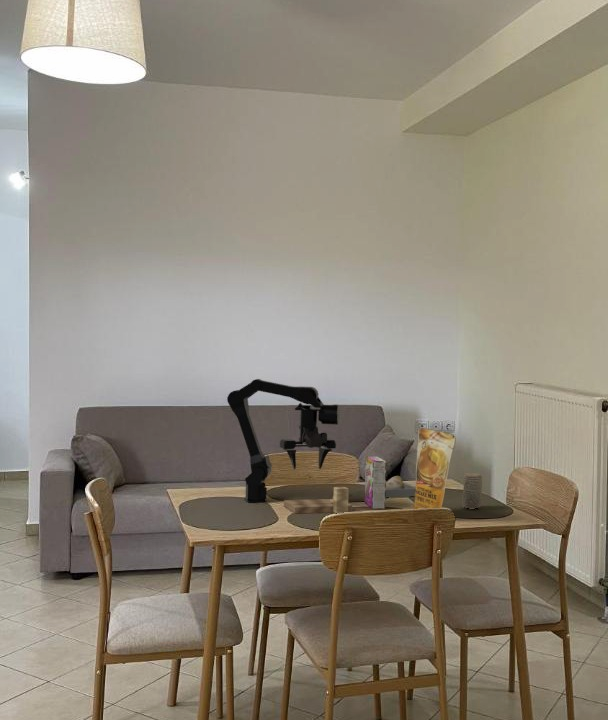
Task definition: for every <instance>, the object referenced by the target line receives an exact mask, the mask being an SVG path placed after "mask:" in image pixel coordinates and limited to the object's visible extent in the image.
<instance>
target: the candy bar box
mask: <svg viewBox="0 0 608 720" xmlns="http://www.w3.org/2000/svg"><path fill="white" fill-rule="evenodd" d="M364 463H365V465H364V466H365V469H364V473H365V474H364V504H366V505H367V506H368V507H370V508H371V509H372V510H385V509H386V498H385V495H386V482H387V480H386V479H387V461H386V460H384V459H383V458H382V457H380V456H372V455H371V456H365V462H364Z"/></svg>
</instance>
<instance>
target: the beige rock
mask: <svg viewBox="0 0 608 720" xmlns="http://www.w3.org/2000/svg"><path fill="white" fill-rule="evenodd" d="M403 482H404V481H403V479H402V477H401V476H399V475H395V476H392V477H391V478H389V479H388V480H386V489H405V486H404V483H405V482H404V483H403Z"/></svg>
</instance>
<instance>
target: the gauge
mask: <svg viewBox="0 0 608 720" xmlns="http://www.w3.org/2000/svg"><path fill="white" fill-rule="evenodd" d="M349 491H350V490H349V488H348V487H346V486H336V487H335V486H334V487H333V496H332V497H331V498H329V499H330V502H331V503H333V512H332V513H335V514H336V513H338V514H340V513H339V512H348V513H349V511H348V503H349Z"/></svg>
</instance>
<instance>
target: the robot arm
mask: <svg viewBox="0 0 608 720" xmlns="http://www.w3.org/2000/svg"><path fill="white" fill-rule="evenodd" d="M258 392H263V393H267V394H272V395H278V396H282V397H286V398H287V397H288V398H291V399H293V400H295V401H298V402H300V403H299V404H298V405H297V406H296V407H295V408H294V410H295V411H300V418H299V424H300V425H298V426H299V427H298V428H299V437H298V440H297V441H296V440H294V439H292V438H282V439H280V441H279V448H281V449H283V451H286V453H287V455H288V457H289V460H290V462H291V466H292V468H293V470H296V469H297V467H296V466H297V461H296V459H297V458H296V452H297V449H295V448H296V447H297V448H298V447H306V448H310V449H311V448H312V449H313V448H318V469H321V470H322V467H323V464H324V461H325V459H326V457H327V455H328V453H329V452H332V451H333V449H337V442H336V440H334V439H332V438H328V433H327V432H320V433H319V427H318V422H321V425H334V426H337V425H339V422H340V413H339V412H340V411H339V405H338V404H324V403H323V401H322V400H321V398H320V397H319V391H318V389H317V388H316V387H313V386H294V385H293V386H292V385H288V384H283V383H282V384H281V383H278V382H272V381H267V380H262V379H261V378H256V379H253V380H252V381H250V383H248V384H246V385H245V386H243V387H242V388H240V389H236V390H233V391H230V392H229V393H228V394H227V396H226V397H227V399H226V401H227V403H228V405H229V407H230V410H231V411H232V413H233V414H234V415H235V416H236V418H237V420H238V424H239V426H240V430H241V433H242V435H243V439H244V441H245V445H246V448H247V451H248V455H249V457H250V458H249V461H250V462H249V463H250V469H251V470H250V471H251V473H250V474H248V475H247V476H246V477H245V478H244V480H245V495H244V496H245V497H243V500H245V502H248V503H266V502H267V492H268V491H267V489H268V488H267V487H266V483H265V481H266V479H267V478H268V477H269V476H270V475H271V473H272V467H273V464H272V463H271V460H270V456H269V454H268V455H265V454H264V452H262V449H261V445H260V442H259V440H258V437H257V433H256V431H255V427H254V424H253V421H252V419H251V416H250V412H249V411H250V406H249V400H248V399H249V398H250V397H252V396H254V395H255V394H256V393H258ZM303 404H305V405H303ZM312 407H314V408H312Z"/></svg>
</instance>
